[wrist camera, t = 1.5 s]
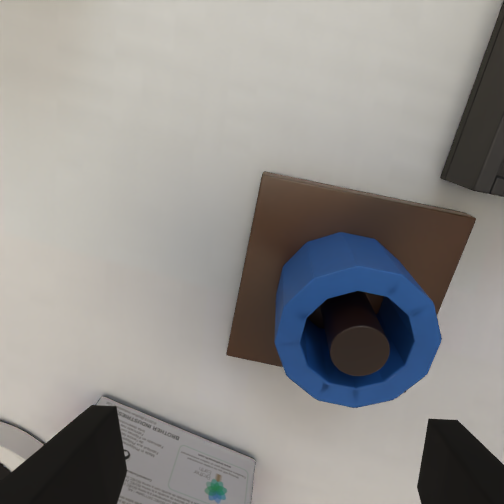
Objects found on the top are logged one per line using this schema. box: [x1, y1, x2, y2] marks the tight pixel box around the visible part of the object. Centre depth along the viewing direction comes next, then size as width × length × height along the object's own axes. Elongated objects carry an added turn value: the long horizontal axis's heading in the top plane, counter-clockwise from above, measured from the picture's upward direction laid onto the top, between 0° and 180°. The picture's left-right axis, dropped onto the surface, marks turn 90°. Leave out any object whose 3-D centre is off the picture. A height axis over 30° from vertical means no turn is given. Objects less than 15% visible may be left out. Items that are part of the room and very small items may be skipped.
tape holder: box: [226, 172, 476, 393], centre depth 15 cm, size 9×9×6 cm
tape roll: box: [274, 232, 442, 408], centre depth 15 cm, size 6×6×4 cm
